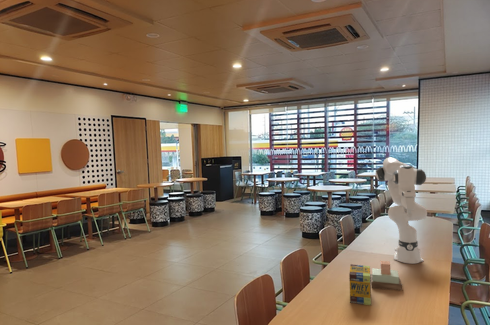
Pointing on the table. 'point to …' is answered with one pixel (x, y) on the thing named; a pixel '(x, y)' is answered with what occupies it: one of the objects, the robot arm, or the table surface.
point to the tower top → (385, 276)
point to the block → (385, 267)
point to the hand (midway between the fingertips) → (407, 214)
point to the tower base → (386, 285)
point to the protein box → (360, 284)
